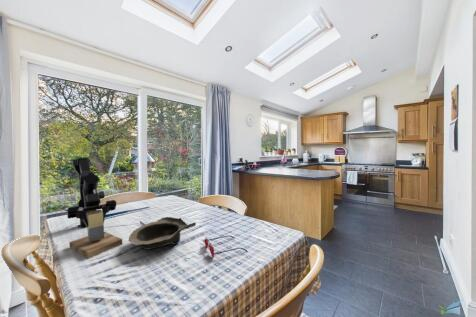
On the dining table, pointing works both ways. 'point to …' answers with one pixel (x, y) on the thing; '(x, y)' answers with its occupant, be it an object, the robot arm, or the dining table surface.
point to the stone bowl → (158, 233)
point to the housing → (95, 225)
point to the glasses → (213, 248)
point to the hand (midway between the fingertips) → (95, 224)
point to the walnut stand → (95, 245)
